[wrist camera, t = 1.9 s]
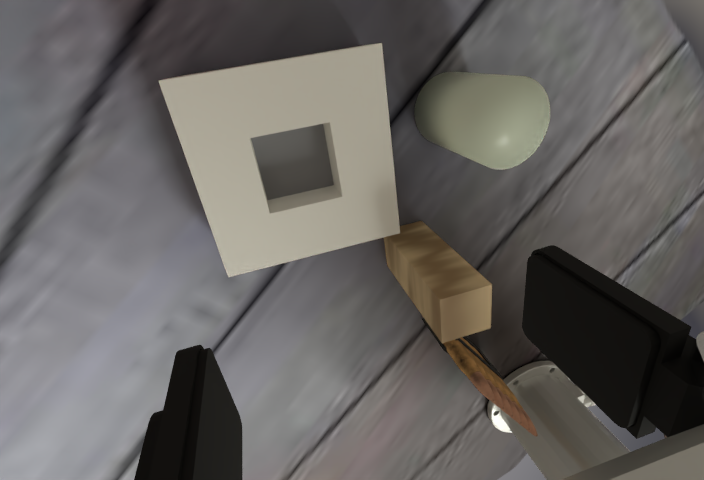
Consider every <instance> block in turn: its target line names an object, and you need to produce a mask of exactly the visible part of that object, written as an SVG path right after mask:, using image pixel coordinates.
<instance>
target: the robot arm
mask: <svg viewBox="0 0 704 480" xmlns="http://www.w3.org/2000/svg"><path fill="white" fill-rule="evenodd" d="M522 328H523V331H524V333H525V335H526V336H527V338H528V339H529V340H530V341H531V342H532V343H533V344H535V345H536V346H537V347H538V348H539V349H540V350H541V351H542V352H543V353H544V354H545V355H546V356H547V357H548V358H549V359H550V360H551V361H538V362H533V363H530V364H527V365H525V366H523V367H521V368H519V369H517V370H515V371H514V372H512V373H511V374H510V375H508V376H507V377H506V378H505V379H504V380H503V381H504V383H505V384H506V385H507V386H508V388H509V389H510V390H511V391H512V393H513V394H514V395H515V397H516V398H517V400H518V402H519V404H520V405H521V406H522V408H523V409H524V411H525V412H526V413H527V415H528V416H529V418H530V419H531V421H532V422H533V424H534V426H535V428H536V431H537V434H538V436H537V437H536V436H534V435H532V434H531V433H530V432H528V431H527V430H526V429H525V428H524V427H522V426H521V425H520V424H519V423H517V422H516V421H515V420H514V419H512V418H511V417H510V416H509V415H508V414H506V413H505V412H504V411H502V410H501V409H500V408H499V407H497V406H496V405H495V404H494V403H493V402H492V401H490V400H489V403H488V409H487V413H488V417H489V419H490V421H491V422H492V424H493V425H494V426H495V427H496V428H497V429H498V430H500V431H503V432H509V433H513V434H514V435H515V437H516V438H517V439H518V441H519V442H520V444H521V445H522V446H523V448H524V449H525V451H526V452H527V453H528V455H529V456H530V457H531V459H532V460H533V461H534V463H535V464H536V466H537V467H538V468H539V470H540V471H541V472H542V474H543V475H544V477H545V478H546V480H704V332H701V333H699V335H698V336H697V338H696V339H694V338H693V337H691V336H689V332H690V329H691V326H689V325H687V324H685V323H684V322H682V321H681V320H679V319H677V318H676V317H674V316H672V315H671V314H669V313H667V312H666V311H664V310H662V309H661V308H659V307H657V306H655V305H654V304H652V303H650V302H649V301H647V300H645V299H644V298H642V297H640V296H639V295H637V294H635V293H634V292H632V291H630V290H629V289H627V288H625V287H624V286H622V285H620V284H619V283H617V282H615V281H614V280H612V279H610V278H609V277H607V276H605V275H604V274H602V273H600V272H599V271H597V270H595V269H594V268H592V267H590V266H589V265H587V264H585V263H583V262H582V261H580V260H578V259H577V258H575V257H573V256H572V255H570V254H568V253H567V252H565V251H563V250H562V249H560V248H558V247H556V246H548V247H544V248H541V249H537V250H535V251H533V252H532V254H531V257H529V258H528V262H527V274H526V286H525V298H524V310H523V322H522ZM570 380H571V381H572V382H573V383H574V384H575V385H574V384H573V383H572V382H571V381H570ZM593 405H597V406H598V407H599V408H600V409H601V410H602V411H603V412H604V413H605V414H606V415H607V416H608V417H609V418H610V419H611V420H612V421H613V422H614V423H616V424H617V425H618V426H620V427H622V428H626V429H627V430H628V431H629V432H630V433H631V434H632V435H633V436H634V437H635V438H636V439H637V438H640V437H643V436H645V435H647V434H650V433H653V432H654V431H655V429H656V427H657V428H658V429H659V430H660V431H661V432H662V433H664V437H665V439H663V440H660V441H658V442H655V443H653V444H650V445H648V446H645V447H642V448H640V449H637V450H635V451H632V452H630V451H629V450H628V449H627V448H626V447H625V446H624V445H623V444H622V443H621V442H620V441H619V440H618V439H617V438H616V437H615V436H614V435H613V433H612V432H611V431H609V429H607V428H606V426H605V425H604V424H603V423H602V422H601V421H599V419H598V418H597V417H596V416H595V415H594V414H593V413H592V412H591V411H590V410H589V409H588V408H587V407H590V406H593ZM134 480H242V423H241V419H240V415H239V413H238V411H237V408H236V406H235V404H234V401H233V399H232V396H231V394H230V392H229V389H228V387H227V385H226V382H225V380H224V378H223V375H222V373H221V371H220V368H219V366H218V364H217V361H216V359H215V357H214V354H213V352H212V350H211V349H210V348H207V349H204V348H203V347H202V346H201V345H197V346H193V347H190V348H186V349H183V350H179V351H177V353H176V356H175V360H174V365H173V369H172V374H171V378H170V383H169V387H168V392H167V396H166V401H165V405H164V410H163V411H160V412H156V413H154V414H153V415H152V416H151V418H150V421H149V424H148V428H147V432H146V436H145V439H144V443H143V447H142V451H141V455H140V459H139V463H138V467H137V471H136V475H135V479H134Z"/></svg>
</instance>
